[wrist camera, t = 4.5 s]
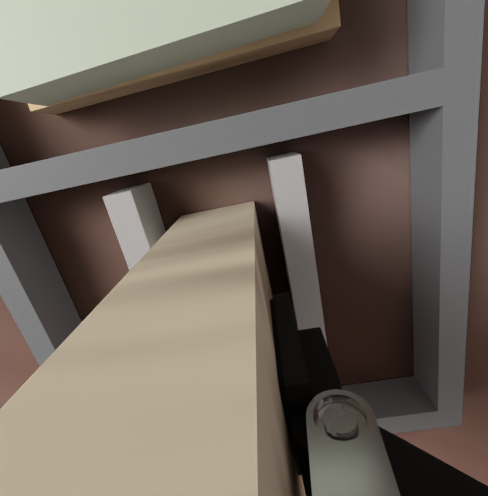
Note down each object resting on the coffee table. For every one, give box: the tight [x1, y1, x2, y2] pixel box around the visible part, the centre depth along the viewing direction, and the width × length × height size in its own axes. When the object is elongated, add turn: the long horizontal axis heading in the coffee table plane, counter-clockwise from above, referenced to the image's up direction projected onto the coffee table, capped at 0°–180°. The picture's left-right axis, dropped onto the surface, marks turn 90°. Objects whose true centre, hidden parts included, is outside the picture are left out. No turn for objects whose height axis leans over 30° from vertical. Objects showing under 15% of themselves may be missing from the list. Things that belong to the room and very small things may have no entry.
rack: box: [0, 0, 485, 434], centre depth 11 cm, size 22×17×2 cm
